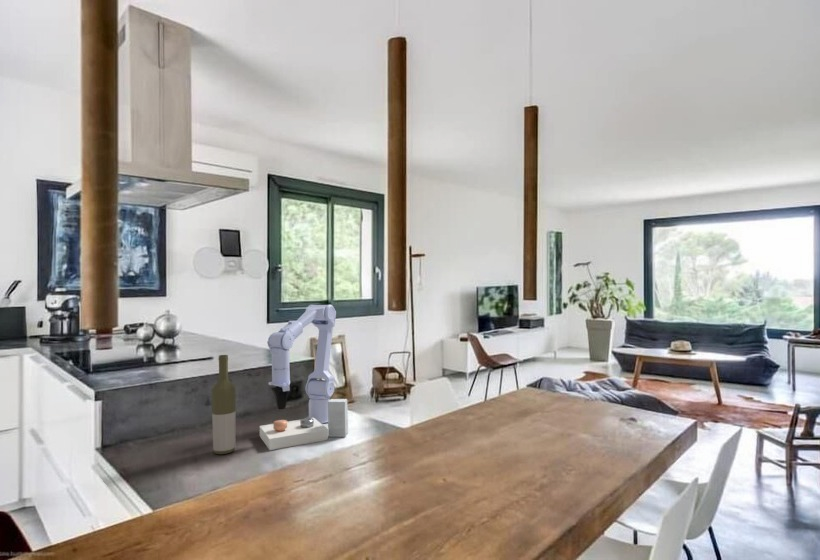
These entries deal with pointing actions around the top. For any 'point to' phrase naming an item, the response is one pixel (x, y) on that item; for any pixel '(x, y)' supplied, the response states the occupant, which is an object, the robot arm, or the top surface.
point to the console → (292, 434)
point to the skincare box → (337, 418)
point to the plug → (306, 422)
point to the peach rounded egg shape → (280, 425)
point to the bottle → (223, 410)
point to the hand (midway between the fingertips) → (281, 408)
